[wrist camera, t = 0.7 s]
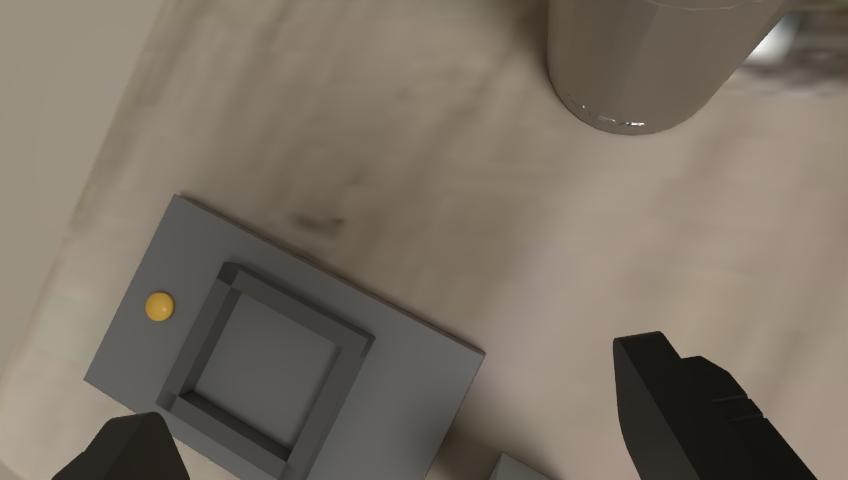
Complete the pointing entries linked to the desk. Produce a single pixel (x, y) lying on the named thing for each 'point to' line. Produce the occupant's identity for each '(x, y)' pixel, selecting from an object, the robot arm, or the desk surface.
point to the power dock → (278, 359)
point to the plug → (514, 470)
